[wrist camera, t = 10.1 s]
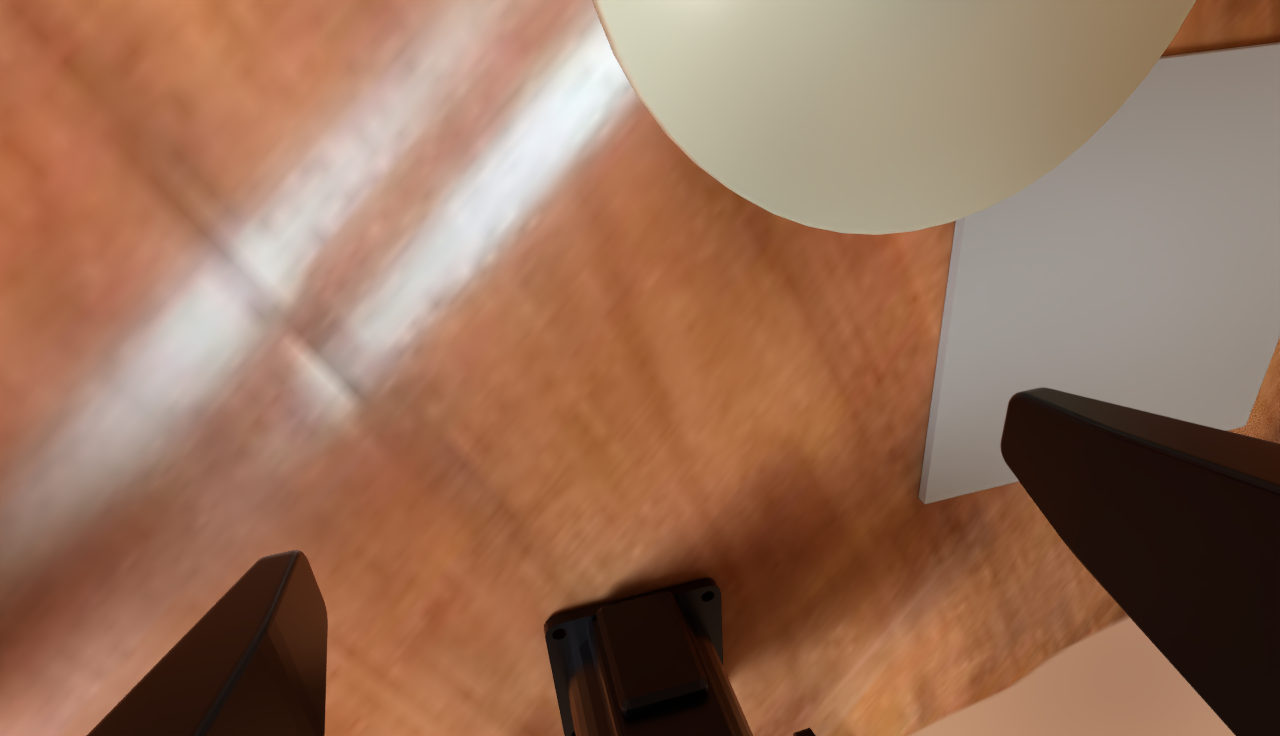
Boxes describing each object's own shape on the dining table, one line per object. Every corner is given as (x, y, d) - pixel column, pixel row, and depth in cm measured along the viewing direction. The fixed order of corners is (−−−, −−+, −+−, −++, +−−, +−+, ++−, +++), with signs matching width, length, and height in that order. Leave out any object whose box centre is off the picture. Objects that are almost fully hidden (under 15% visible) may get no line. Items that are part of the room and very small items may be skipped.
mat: (1236, 421, 30) (1245, 426, 30) (918, 497, 27) (924, 504, 27) (1383, 29, 23) (1397, 29, 23) (975, 79, 20) (984, 81, 20)
